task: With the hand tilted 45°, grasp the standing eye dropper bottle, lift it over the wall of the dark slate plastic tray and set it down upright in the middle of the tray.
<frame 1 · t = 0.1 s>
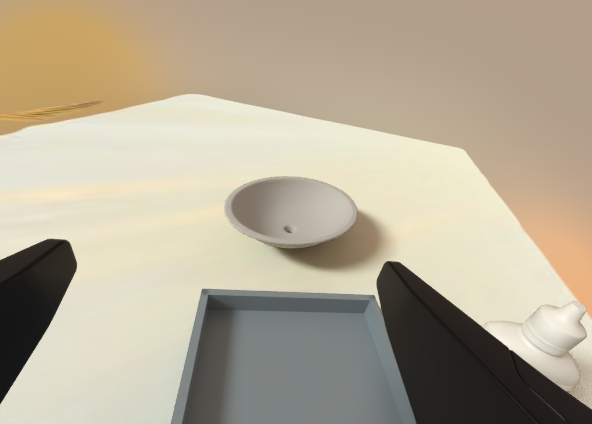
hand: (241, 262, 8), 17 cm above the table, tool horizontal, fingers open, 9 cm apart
eye dropper bottle: (472, 399, 23), on the table
slate tray: (297, 421, 19), on the table
dish: (288, 236, 37), on the table
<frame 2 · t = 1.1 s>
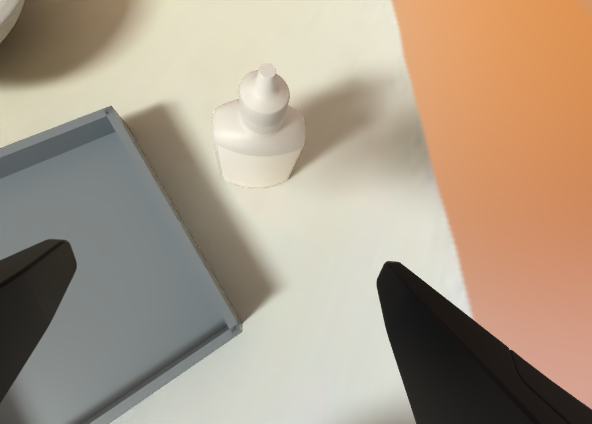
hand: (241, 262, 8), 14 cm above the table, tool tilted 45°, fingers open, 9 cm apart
eye dropper bottle: (254, 170, 23), on the table
slate tray: (74, 278, 19), on the table
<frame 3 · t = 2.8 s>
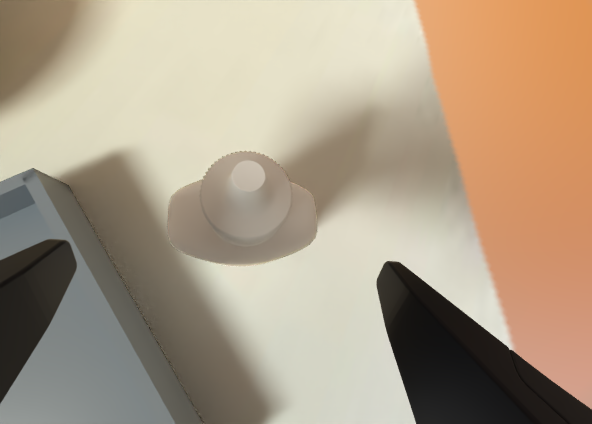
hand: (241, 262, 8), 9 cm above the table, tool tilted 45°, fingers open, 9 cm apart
eye dropper bottle: (244, 239, 17), on the table
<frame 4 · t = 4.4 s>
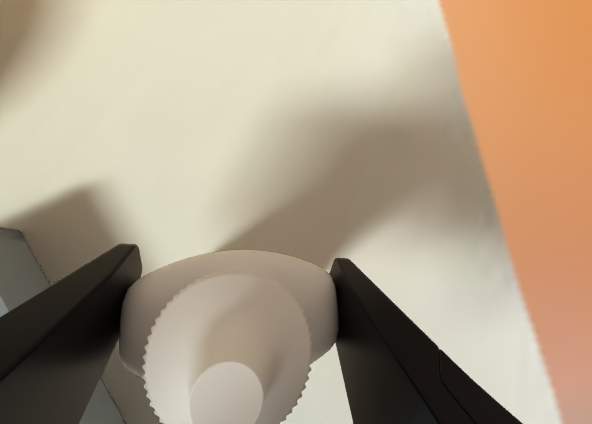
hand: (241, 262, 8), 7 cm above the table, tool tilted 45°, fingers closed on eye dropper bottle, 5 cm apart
eye dropper bottle: (239, 291, 14), on the table, touching gripper
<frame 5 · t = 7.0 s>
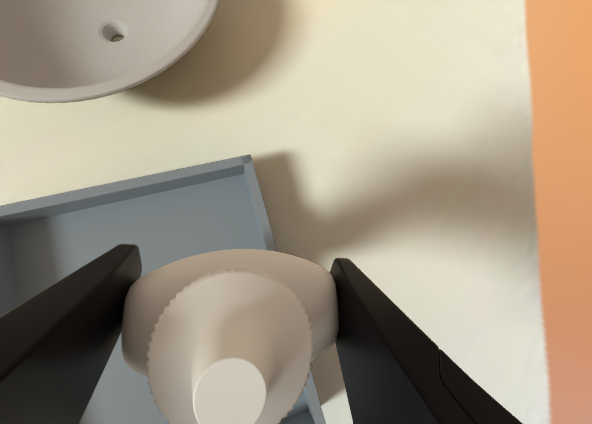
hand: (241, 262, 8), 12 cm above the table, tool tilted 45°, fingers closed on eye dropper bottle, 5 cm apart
eye dropper bottle: (240, 290, 14), point 5 cm above the table, touching gripper
slate tray: (167, 318, 18), on the table
dish: (121, 44, 21), on the table
when the fingers open (8 cm above the table, at t = 9.3 s): eye dropper bottle stays where it is, resting on slate tray.
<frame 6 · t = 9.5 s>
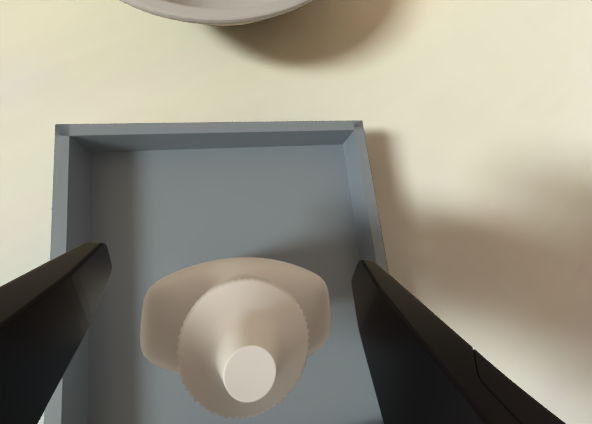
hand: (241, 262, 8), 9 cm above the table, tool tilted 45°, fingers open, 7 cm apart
eye dropper bottle: (239, 293, 15), point 1 cm above the table, touching slate tray
slate tray: (239, 288, 16), on the table
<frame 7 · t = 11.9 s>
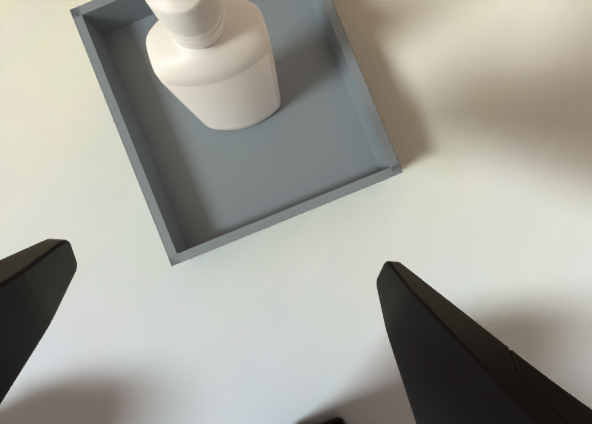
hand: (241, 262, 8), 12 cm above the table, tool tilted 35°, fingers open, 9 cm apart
eye dropper bottle: (242, 106, 20), point 1 cm above the table, touching slate tray
slate tray: (243, 107, 21), on the table
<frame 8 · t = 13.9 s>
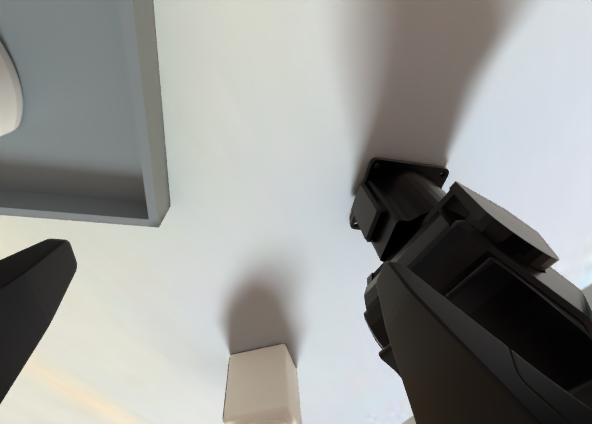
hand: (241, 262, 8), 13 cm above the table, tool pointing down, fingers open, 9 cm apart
medicine bottle: (264, 360, 36), on the table
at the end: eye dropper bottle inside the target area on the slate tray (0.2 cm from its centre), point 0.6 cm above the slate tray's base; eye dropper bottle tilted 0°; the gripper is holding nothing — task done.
